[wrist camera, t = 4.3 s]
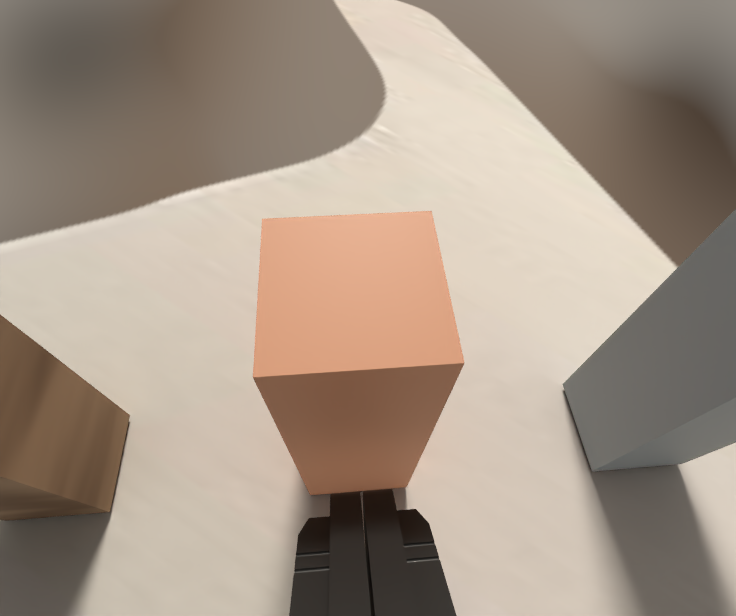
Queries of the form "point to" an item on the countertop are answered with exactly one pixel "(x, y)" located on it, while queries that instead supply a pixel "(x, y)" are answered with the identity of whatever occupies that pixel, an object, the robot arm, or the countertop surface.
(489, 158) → the countertop surface
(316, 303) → the terracotta pillar
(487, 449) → the countertop surface
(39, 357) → the walnut pillar
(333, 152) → the countertop surface
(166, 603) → the countertop surface
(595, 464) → the slate pillar
